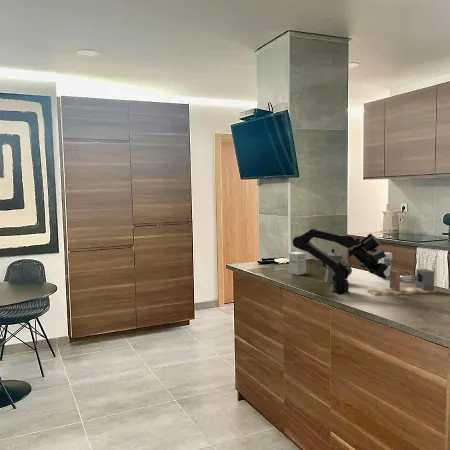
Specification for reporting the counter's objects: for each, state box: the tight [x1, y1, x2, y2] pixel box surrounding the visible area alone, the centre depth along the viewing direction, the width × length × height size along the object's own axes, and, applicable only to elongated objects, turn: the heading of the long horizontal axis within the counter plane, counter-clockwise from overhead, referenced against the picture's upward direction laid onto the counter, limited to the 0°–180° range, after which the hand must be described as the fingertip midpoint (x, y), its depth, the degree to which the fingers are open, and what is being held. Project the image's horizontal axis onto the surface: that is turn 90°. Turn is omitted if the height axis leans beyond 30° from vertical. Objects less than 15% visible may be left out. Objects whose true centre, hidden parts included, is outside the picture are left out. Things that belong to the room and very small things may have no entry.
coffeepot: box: [321, 248, 343, 284], centre depth 243 cm, size 15×9×18 cm, turn 33°
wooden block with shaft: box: [389, 269, 418, 291], centre depth 216 cm, size 12×6×9 cm, turn 97°
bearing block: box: [415, 268, 435, 291], centre depth 217 cm, size 5×7×9 cm
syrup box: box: [377, 251, 393, 280], centre depth 248 cm, size 6×6×14 cm
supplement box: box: [288, 251, 307, 276], centre depth 268 cm, size 7×7×13 cm
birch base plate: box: [367, 286, 436, 296], centre depth 216 cm, size 30×8×1 cm, turn 97°
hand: (385, 278), depth 215 cm, fingers closed
